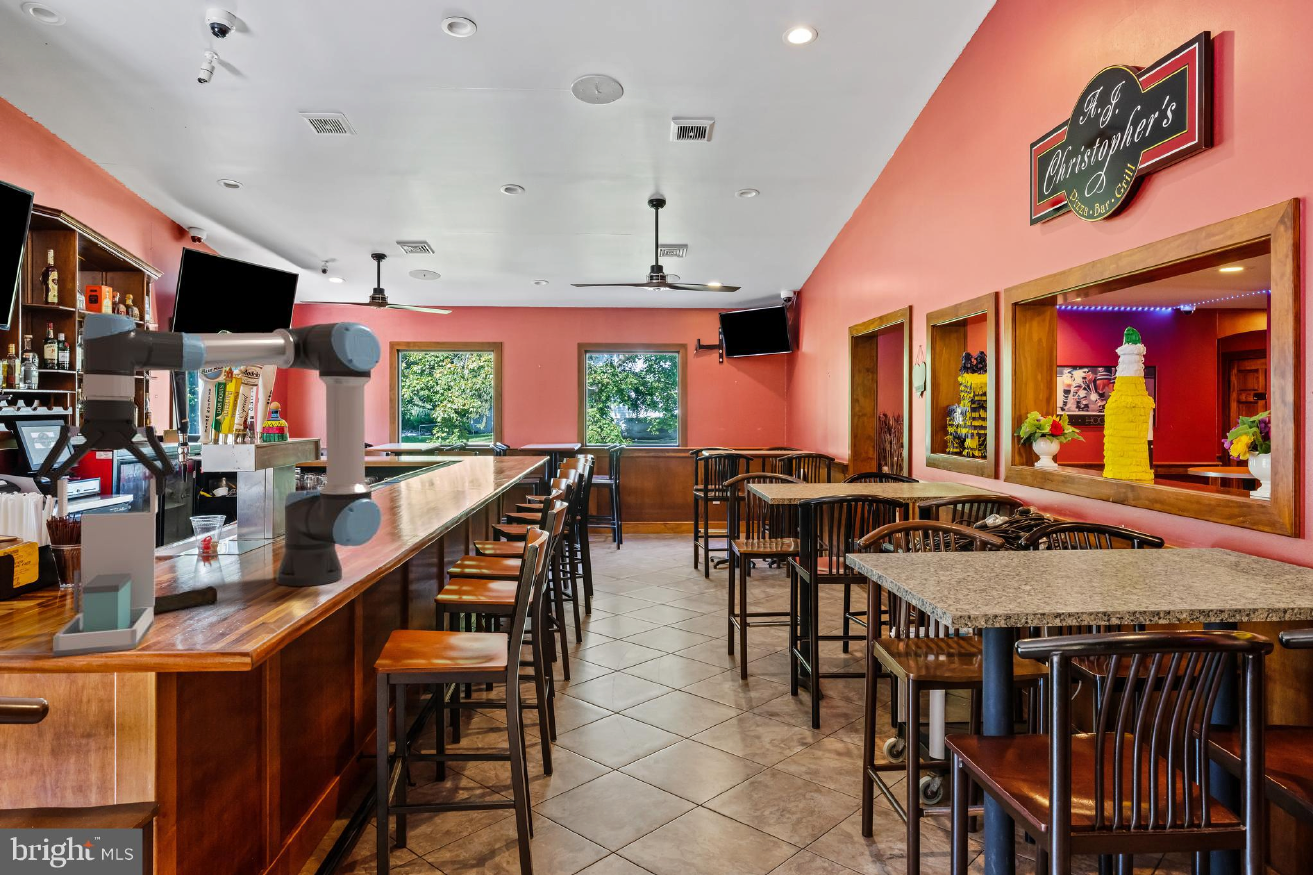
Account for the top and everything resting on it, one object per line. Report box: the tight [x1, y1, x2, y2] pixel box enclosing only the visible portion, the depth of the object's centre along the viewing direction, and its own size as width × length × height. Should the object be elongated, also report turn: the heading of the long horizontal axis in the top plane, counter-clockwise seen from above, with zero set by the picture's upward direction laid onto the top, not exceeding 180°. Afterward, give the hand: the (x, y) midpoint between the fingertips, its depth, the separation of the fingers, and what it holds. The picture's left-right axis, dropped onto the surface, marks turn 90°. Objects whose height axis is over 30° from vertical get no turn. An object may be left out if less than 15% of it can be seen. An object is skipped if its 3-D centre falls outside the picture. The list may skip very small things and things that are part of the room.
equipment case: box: [52, 512, 157, 658], centre depth 132 cm, size 12×18×22 cm
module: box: [83, 573, 131, 633], centre depth 131 cm, size 5×10×10 cm, turn 27°
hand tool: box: [154, 585, 218, 614], centre depth 150 cm, size 19×4×5 cm, turn 146°
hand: (109, 514), depth 131 cm, fingers open, 13 cm apart
